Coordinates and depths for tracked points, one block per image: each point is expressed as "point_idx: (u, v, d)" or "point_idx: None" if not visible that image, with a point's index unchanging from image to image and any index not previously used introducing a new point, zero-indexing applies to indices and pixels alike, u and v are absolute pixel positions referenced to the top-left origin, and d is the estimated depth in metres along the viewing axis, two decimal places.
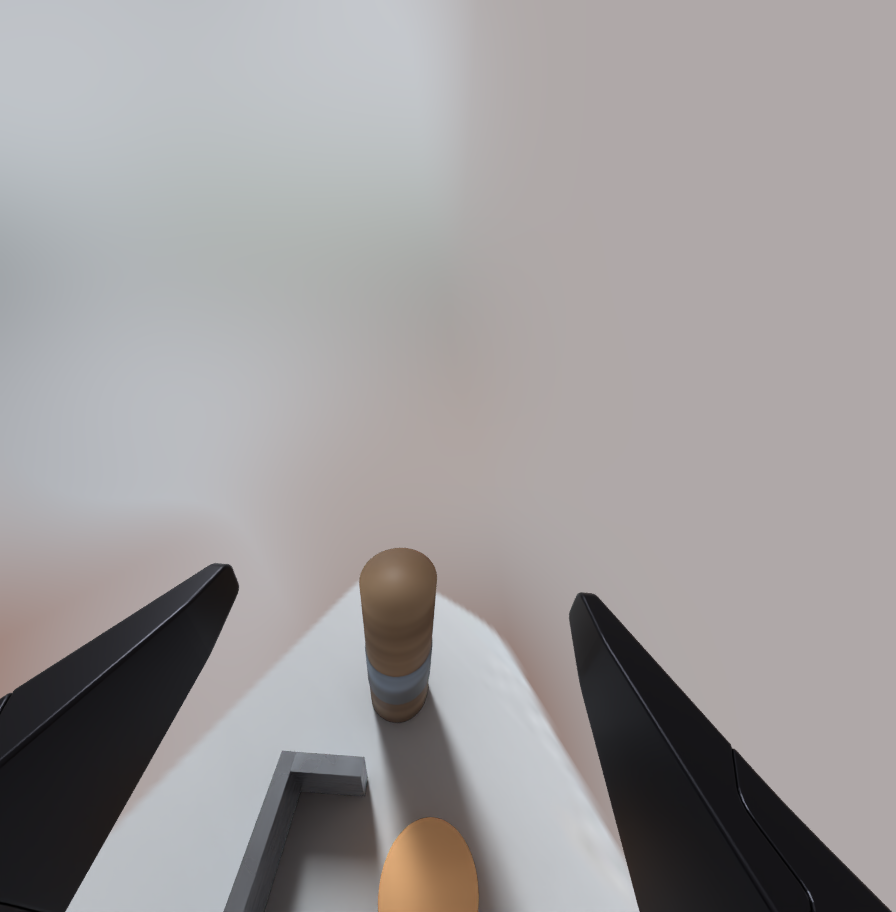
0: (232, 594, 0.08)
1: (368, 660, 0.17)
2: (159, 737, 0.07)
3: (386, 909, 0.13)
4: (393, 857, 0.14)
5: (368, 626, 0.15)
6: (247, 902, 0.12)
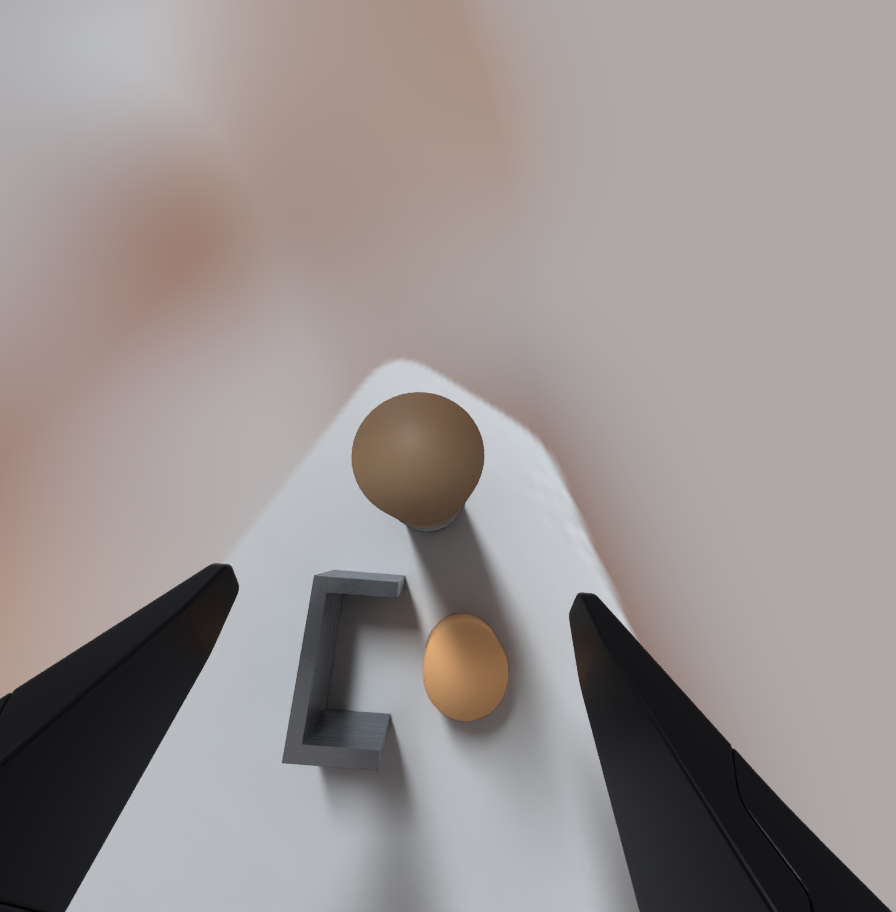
0: (232, 594, 0.08)
1: None
2: (159, 737, 0.07)
3: (430, 681, 0.15)
4: (433, 649, 0.15)
5: None
6: (313, 677, 0.15)
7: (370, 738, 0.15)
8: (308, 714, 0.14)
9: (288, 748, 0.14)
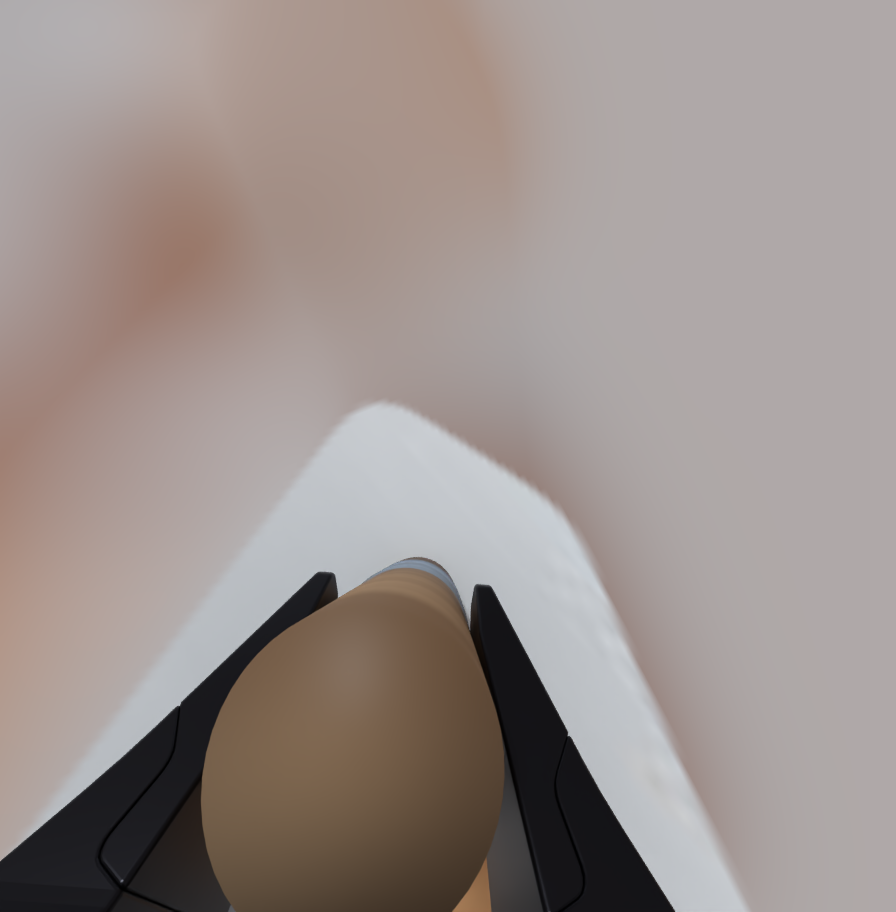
0: None
1: None
2: None
3: None
4: None
5: None
6: None
7: None
8: None
9: None
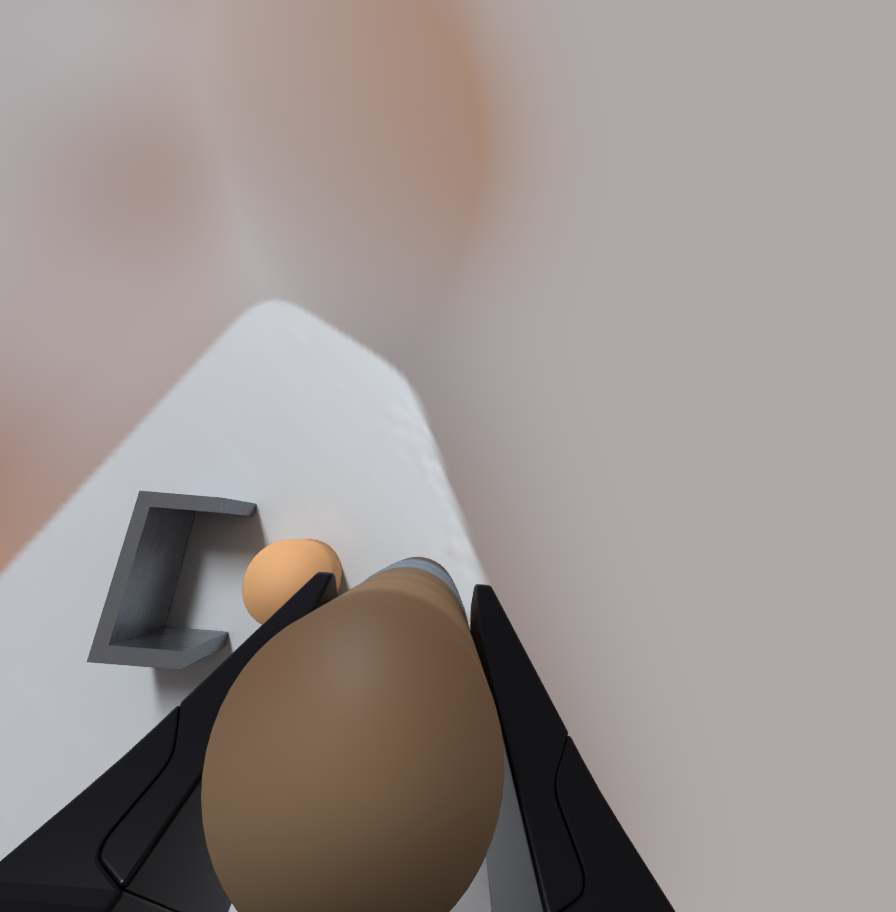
0: None
1: None
2: None
3: (249, 592, 0.15)
4: (256, 563, 0.16)
5: None
6: (130, 586, 0.15)
7: (185, 644, 0.15)
8: (121, 619, 0.15)
9: (95, 648, 0.14)
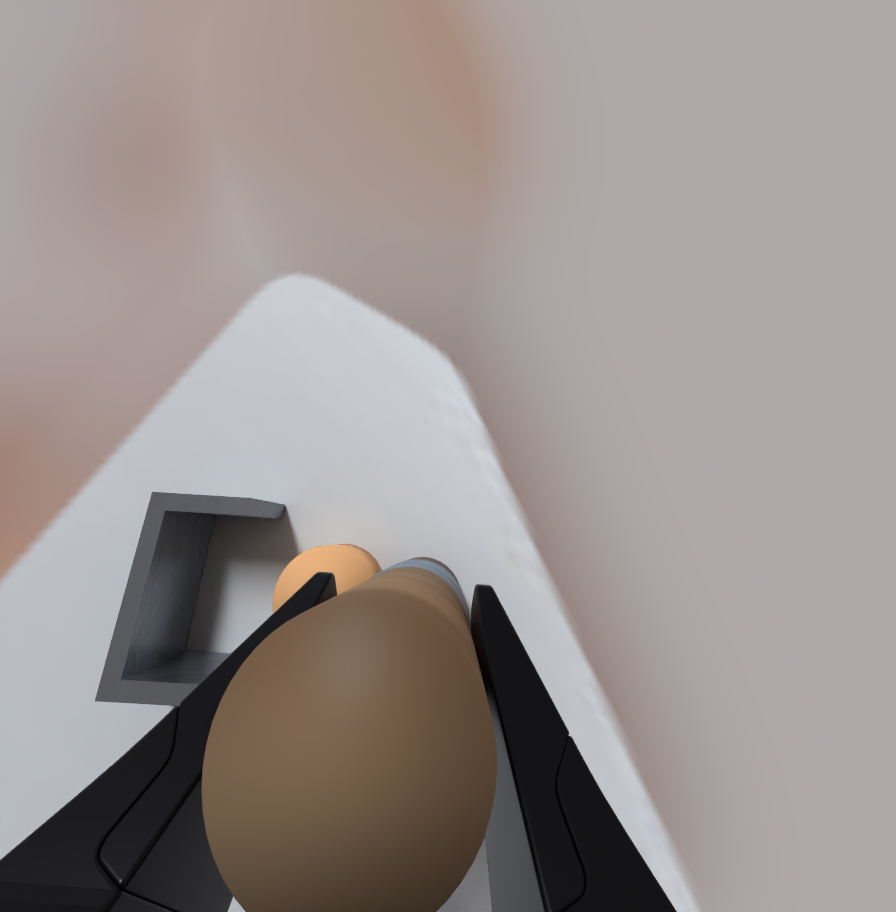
0: None
1: None
2: None
3: None
4: (288, 574, 0.13)
5: None
6: (144, 606, 0.13)
7: None
8: (135, 646, 0.12)
9: (104, 684, 0.12)
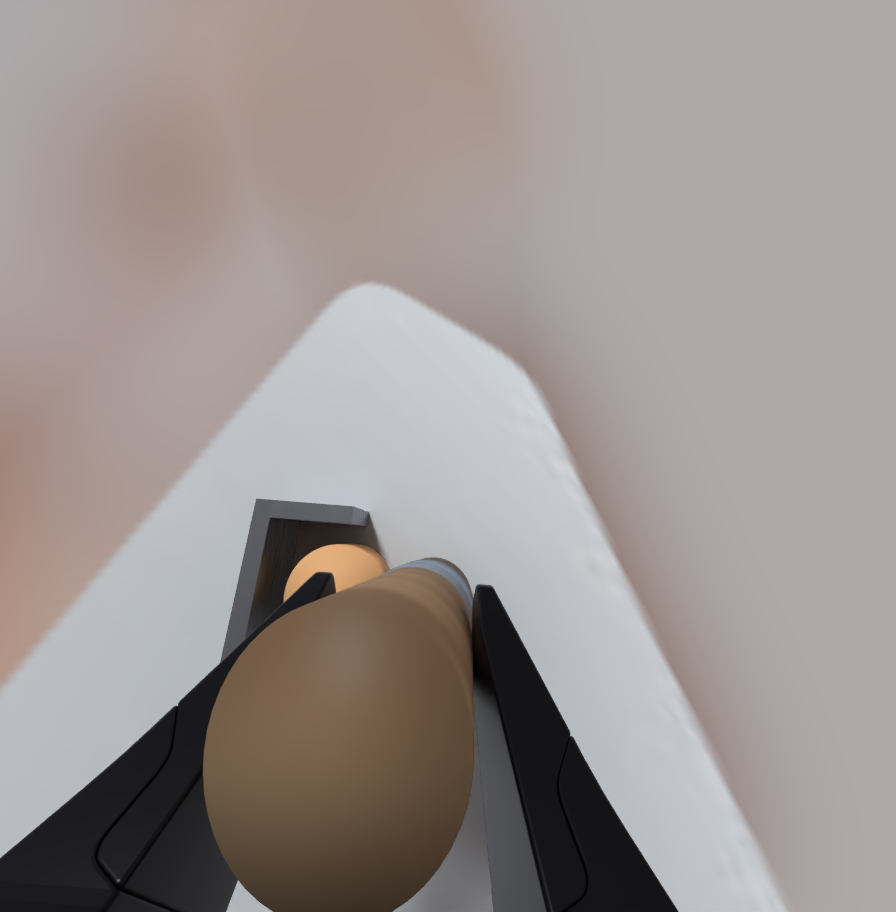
0: None
1: None
2: None
3: None
4: (299, 571, 0.13)
5: None
6: (252, 612, 0.13)
7: None
8: None
9: None
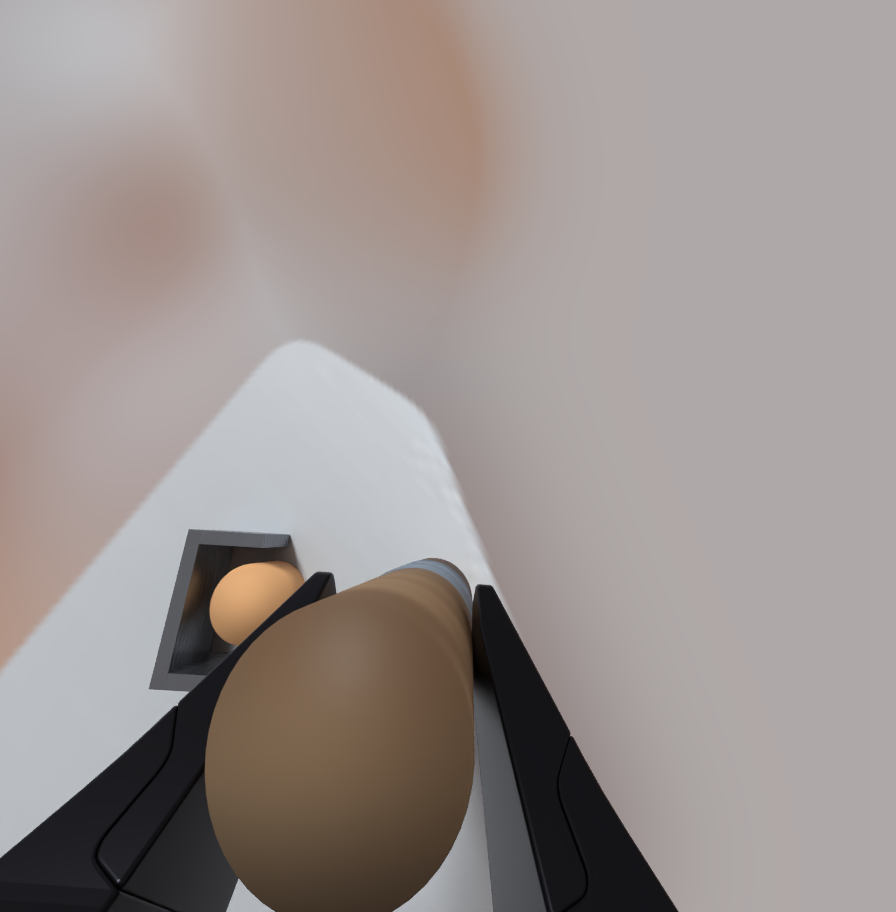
0: None
1: None
2: None
3: (215, 612, 0.17)
4: (223, 585, 0.17)
5: None
6: (184, 617, 0.17)
7: None
8: (177, 648, 0.16)
9: (155, 676, 0.16)
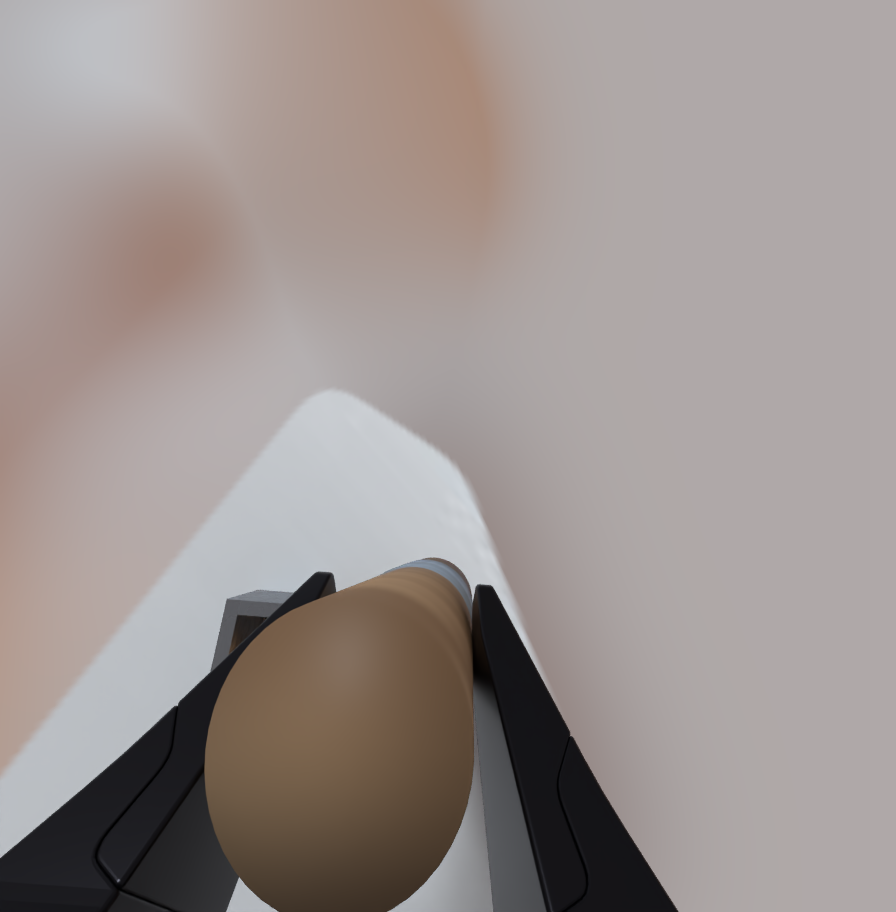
0: None
1: None
2: None
3: None
4: None
5: None
6: None
7: None
8: None
9: None
